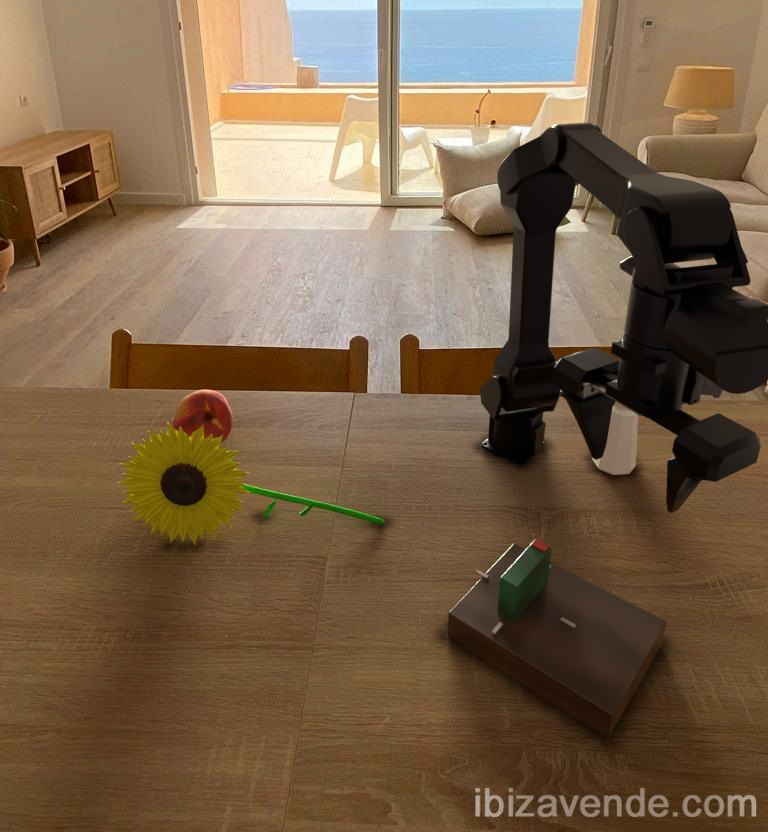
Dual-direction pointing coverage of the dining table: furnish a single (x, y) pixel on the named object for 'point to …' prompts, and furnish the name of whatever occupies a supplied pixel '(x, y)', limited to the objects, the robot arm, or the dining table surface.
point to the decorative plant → (195, 485)
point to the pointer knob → (524, 580)
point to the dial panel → (563, 641)
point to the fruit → (204, 414)
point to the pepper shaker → (620, 442)
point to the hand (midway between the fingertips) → (633, 482)
